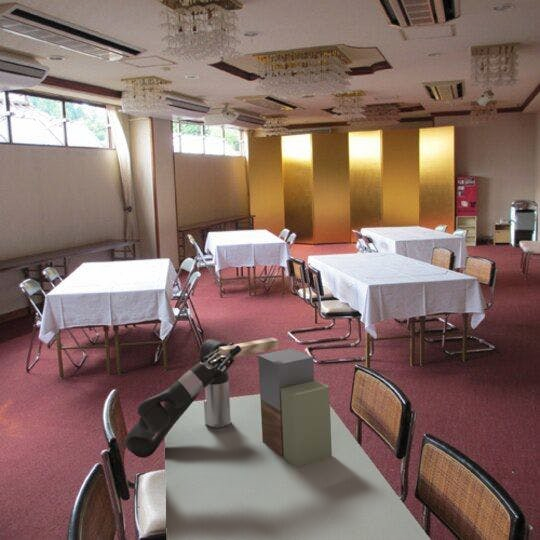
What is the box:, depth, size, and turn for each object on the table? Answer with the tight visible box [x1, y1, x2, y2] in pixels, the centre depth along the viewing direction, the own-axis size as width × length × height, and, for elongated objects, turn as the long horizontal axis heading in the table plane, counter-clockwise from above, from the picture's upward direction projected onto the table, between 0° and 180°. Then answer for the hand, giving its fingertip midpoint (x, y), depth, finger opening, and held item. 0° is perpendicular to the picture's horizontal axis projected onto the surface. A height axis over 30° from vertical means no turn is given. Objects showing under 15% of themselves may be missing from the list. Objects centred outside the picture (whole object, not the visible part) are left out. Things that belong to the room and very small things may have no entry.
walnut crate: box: [260, 399, 284, 457], centre depth 201 cm, size 14×14×16 cm
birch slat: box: [219, 337, 279, 359], centre depth 189 cm, size 20×4×3 cm, turn 119°
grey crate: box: [257, 348, 315, 411], centre depth 199 cm, size 14×14×16 cm
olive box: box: [281, 379, 333, 467], centre depth 190 cm, size 14×8×24 cm, turn 119°
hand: (236, 346), depth 187 cm, fingers closed on birch slat, 4 cm apart
